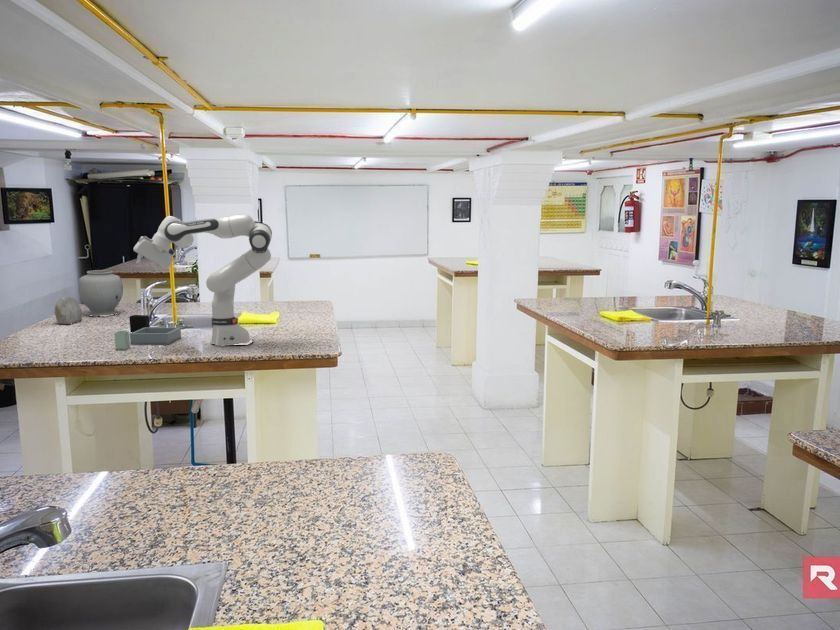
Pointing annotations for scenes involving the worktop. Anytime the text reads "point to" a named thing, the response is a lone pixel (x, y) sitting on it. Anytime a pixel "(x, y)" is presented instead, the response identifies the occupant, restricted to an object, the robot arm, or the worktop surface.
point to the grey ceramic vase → (100, 291)
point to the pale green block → (122, 340)
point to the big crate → (155, 336)
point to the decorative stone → (67, 311)
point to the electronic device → (138, 322)
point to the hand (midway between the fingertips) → (145, 268)
